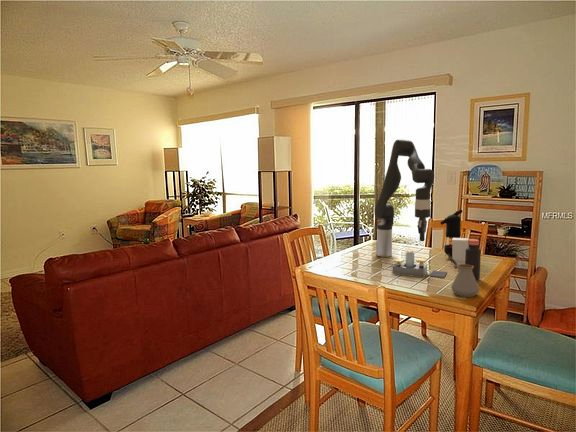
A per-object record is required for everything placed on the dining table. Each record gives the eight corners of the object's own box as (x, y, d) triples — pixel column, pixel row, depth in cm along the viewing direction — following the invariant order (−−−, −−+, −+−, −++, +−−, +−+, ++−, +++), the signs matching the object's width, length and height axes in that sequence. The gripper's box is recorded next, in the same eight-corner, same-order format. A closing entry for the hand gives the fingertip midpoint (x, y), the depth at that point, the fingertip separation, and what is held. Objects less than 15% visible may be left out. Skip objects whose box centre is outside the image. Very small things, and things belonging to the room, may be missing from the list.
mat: (429, 276, 194) (429, 275, 194) (432, 271, 202) (432, 270, 202) (444, 278, 190) (444, 277, 190) (446, 272, 199) (446, 272, 199)
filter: (456, 256, 234) (457, 208, 230) (464, 259, 225) (466, 210, 221) (435, 257, 232) (436, 209, 228) (443, 260, 223) (444, 211, 219)
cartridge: (404, 273, 200) (404, 251, 198) (406, 271, 204) (406, 249, 202) (413, 274, 198) (413, 252, 196) (414, 272, 202) (415, 250, 200)
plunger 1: (393, 269, 203) (393, 260, 202) (395, 267, 207) (395, 258, 206) (401, 270, 201) (401, 261, 200) (403, 267, 204) (403, 259, 204)
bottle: (472, 281, 183) (474, 241, 180) (461, 278, 189) (462, 239, 187) (482, 279, 186) (484, 240, 183) (471, 276, 192) (472, 238, 189)
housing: (392, 273, 201) (392, 266, 200) (397, 268, 209) (397, 261, 209) (423, 277, 193) (423, 269, 192) (427, 272, 201) (427, 265, 201)
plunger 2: (416, 268, 197) (416, 260, 196) (417, 266, 200) (418, 258, 200) (425, 269, 194) (425, 260, 194) (426, 267, 198) (426, 259, 198)
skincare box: (467, 264, 213) (468, 238, 211) (468, 267, 207) (469, 240, 205) (451, 263, 217) (452, 237, 215) (451, 266, 211) (452, 239, 209)
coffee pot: (485, 297, 162) (486, 263, 160) (460, 299, 160) (461, 265, 158) (457, 282, 183) (458, 252, 181) (434, 284, 181) (435, 254, 179)
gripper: (417, 206, 201) (417, 238, 203) (412, 209, 189) (411, 242, 192) (432, 206, 197) (431, 239, 199) (427, 209, 186) (427, 243, 188)
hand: (422, 240), depth 195 cm, fingers closed
